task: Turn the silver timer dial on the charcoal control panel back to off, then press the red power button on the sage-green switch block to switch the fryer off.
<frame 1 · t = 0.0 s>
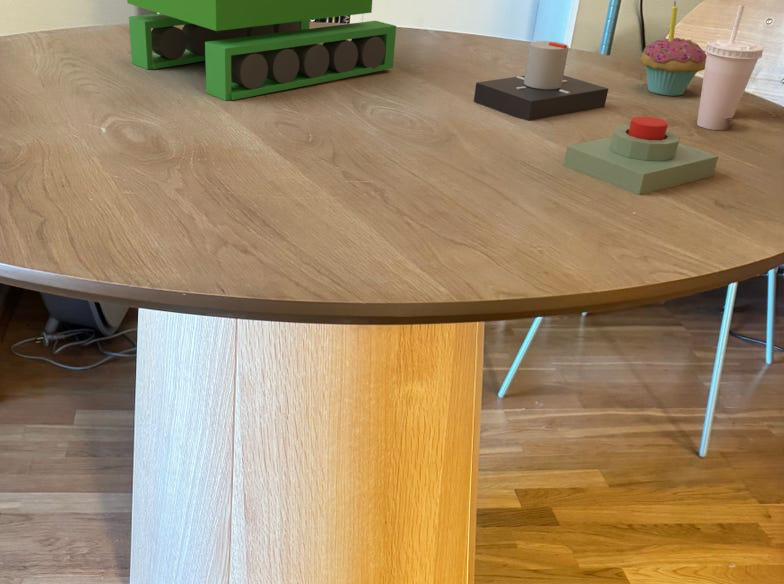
power button: (647, 129, 91), point 4 cm above the table, slide at 0.1 cm
cupcake: (664, 92, 124), on the table
timer dial: (546, 63, 112), point 5 cm above the table, hinge at 100.0°
smoothie: (712, 127, 109), on the table
tank: (277, 66, 129), on the table
timer panel: (538, 104, 115), on the table
switch block: (637, 171, 93), on the table
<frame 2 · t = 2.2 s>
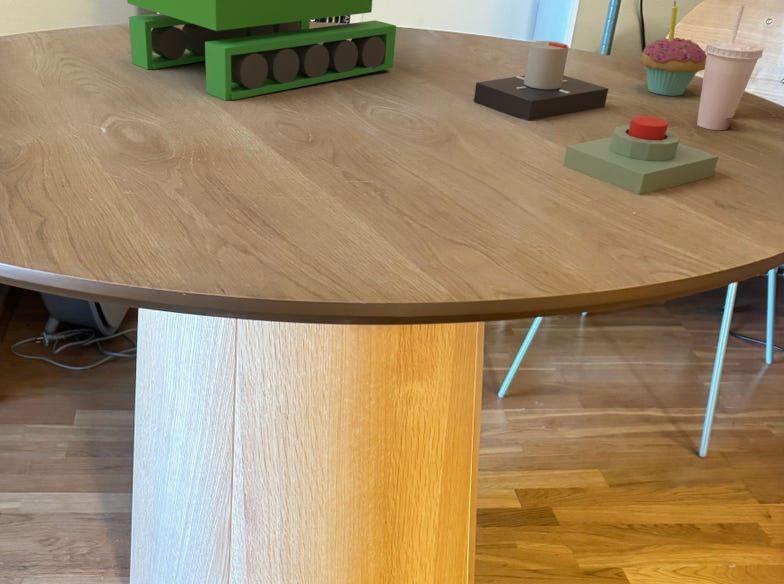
nothing on the table moved.
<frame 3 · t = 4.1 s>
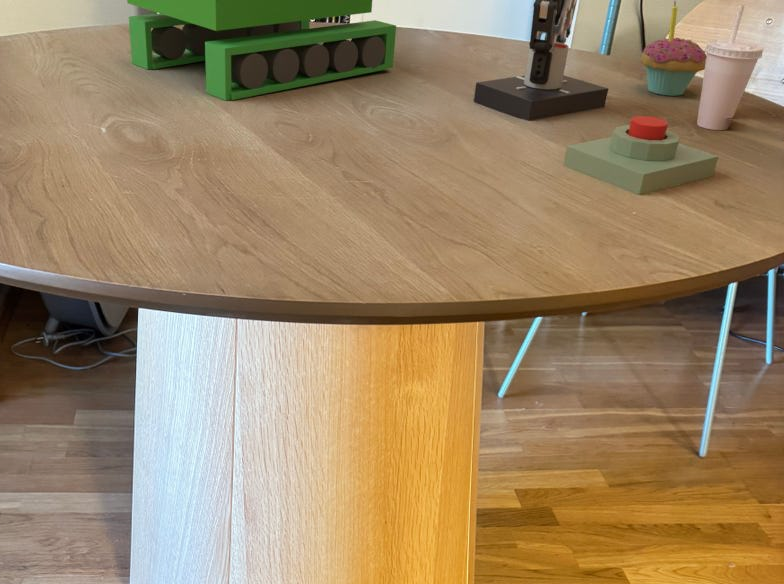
hand: (543, 78, 113), 3 cm above the table, tool pointing down, fingers closed on timer dial, 5 cm apart
timer dial: (546, 63, 112), point 5 cm above the table, hinge at 100.3°, touching gripper
everything else where it was.
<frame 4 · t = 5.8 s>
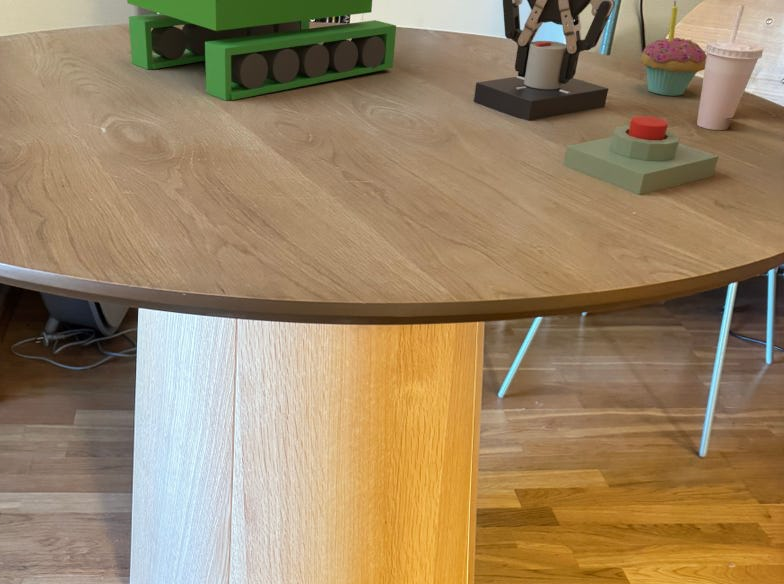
hand: (543, 78, 113), 3 cm above the table, tool pointing down, fingers closed on timer dial, 5 cm apart
timer dial: (546, 63, 112), point 5 cm above the table, hinge at 2.4°, touching gripper
everything else where it was.
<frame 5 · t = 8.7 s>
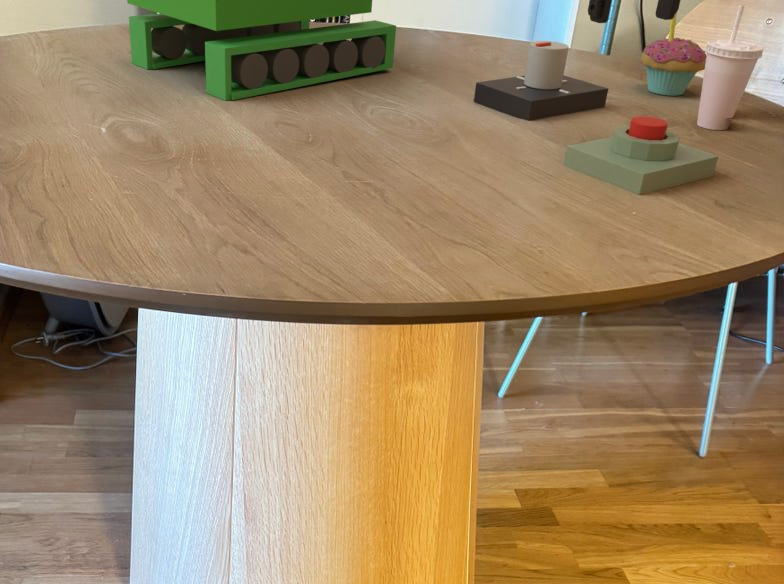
hand: (631, 20, 93), 14 cm above the table, tool pointing down, fingers open, 8 cm apart
timer dial: (546, 63, 112), point 5 cm above the table, hinge at 3.3°
everything else where it was.
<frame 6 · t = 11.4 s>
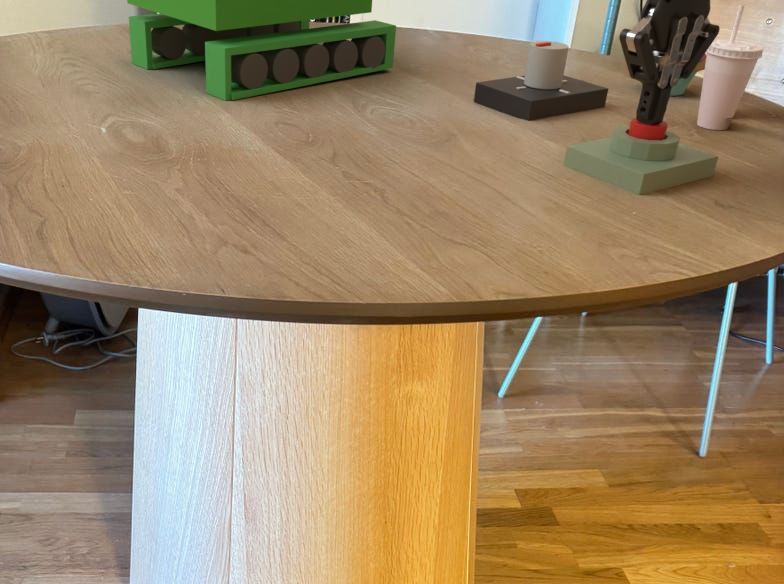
hand: (648, 122, 91), 5 cm above the table, tool pointing down, fingers closed
power button: (647, 130, 91), point 4 cm above the table, slide at 0.0 cm, touching gripper
everything else where it was.
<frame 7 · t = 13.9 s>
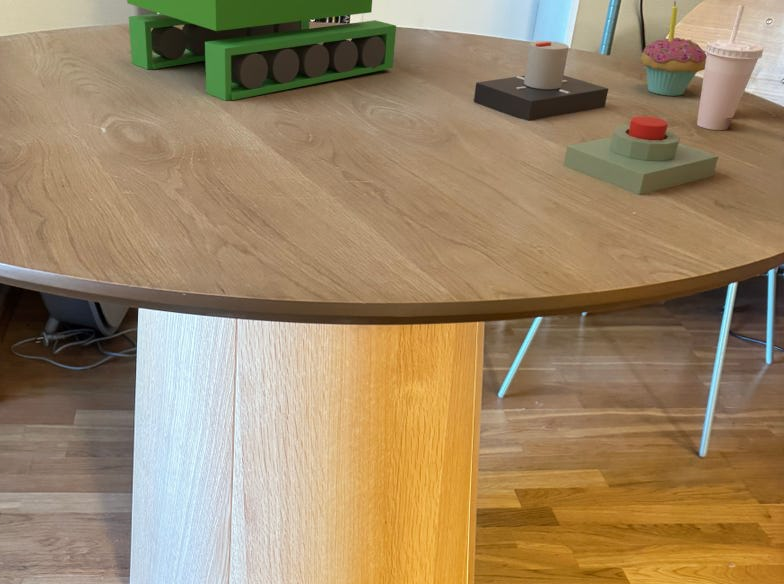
power button: (647, 129, 91), point 4 cm above the table, slide at 0.1 cm
everything else where it was.
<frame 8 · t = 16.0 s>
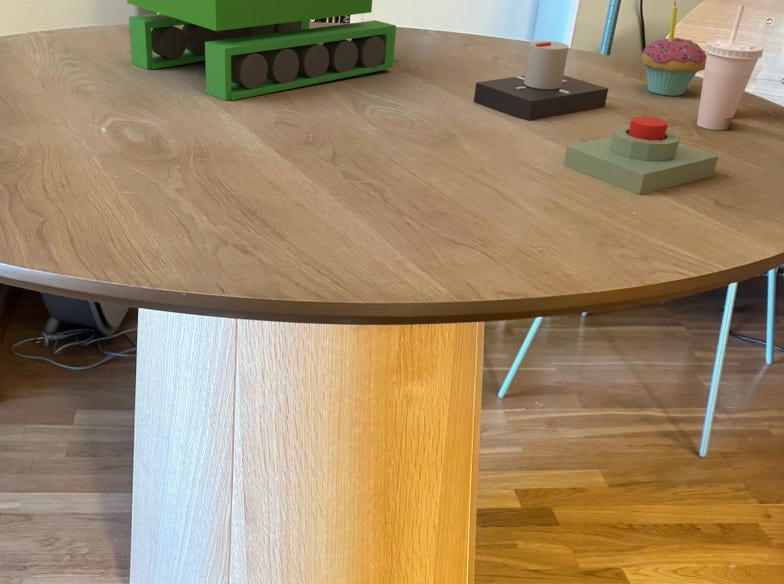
nothing on the table moved.
at the end: timer dial at +3° (first picture: +100°); power button pushed in 1.1 cm at the most during the clip, back to where it started at the end; power button slide at 0.1 cm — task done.
